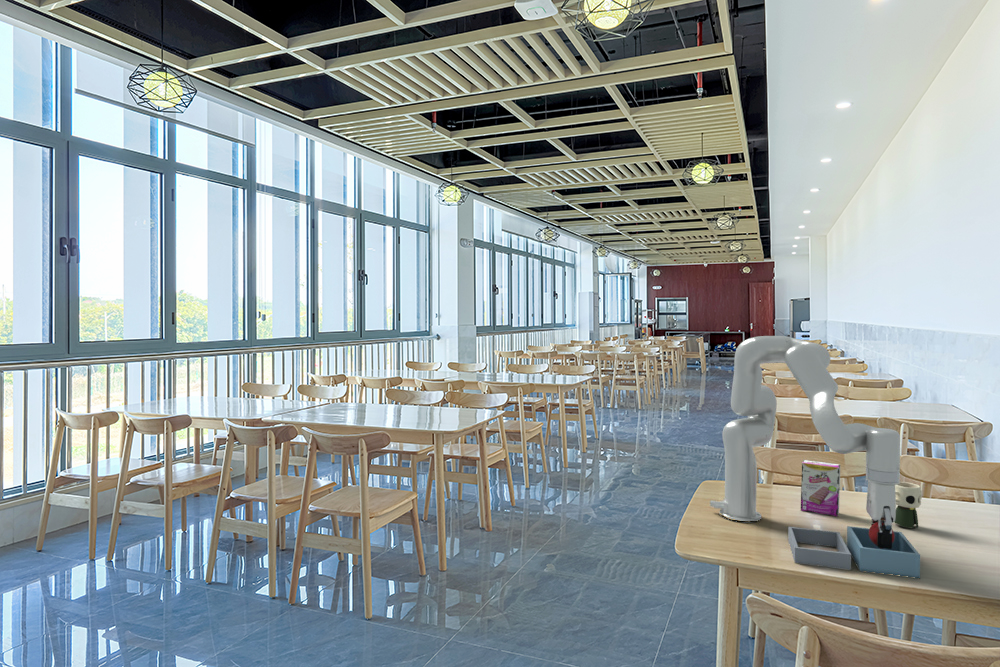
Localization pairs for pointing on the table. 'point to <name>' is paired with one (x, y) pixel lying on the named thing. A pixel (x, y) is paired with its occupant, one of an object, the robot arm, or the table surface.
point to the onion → (873, 533)
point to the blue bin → (883, 554)
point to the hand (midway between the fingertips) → (881, 542)
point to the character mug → (907, 504)
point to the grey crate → (819, 556)
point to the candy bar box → (820, 487)
